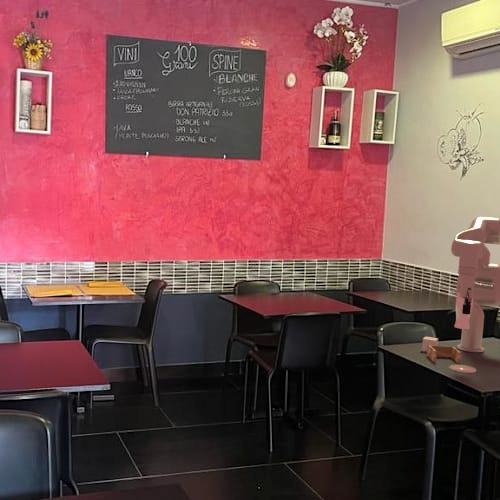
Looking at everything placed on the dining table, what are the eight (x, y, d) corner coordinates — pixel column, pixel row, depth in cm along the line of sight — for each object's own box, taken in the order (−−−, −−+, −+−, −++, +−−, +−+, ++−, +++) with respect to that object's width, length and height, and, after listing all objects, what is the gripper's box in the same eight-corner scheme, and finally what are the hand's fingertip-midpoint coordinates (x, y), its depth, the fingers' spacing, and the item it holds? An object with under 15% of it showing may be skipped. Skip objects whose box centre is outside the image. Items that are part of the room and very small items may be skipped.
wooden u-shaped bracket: (427, 355, 313) (428, 345, 312) (452, 357, 313) (453, 346, 312) (434, 362, 301) (435, 351, 300) (460, 364, 301) (461, 352, 301)
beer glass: (471, 330, 289) (474, 294, 288) (453, 328, 290) (457, 293, 289) (469, 327, 296) (473, 292, 294) (452, 325, 297) (456, 291, 296)
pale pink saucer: (446, 365, 297) (446, 363, 297) (471, 366, 297) (471, 365, 297) (453, 372, 286) (453, 370, 286) (479, 373, 286) (480, 372, 286)
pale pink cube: (434, 353, 319) (435, 340, 318) (421, 351, 321) (422, 338, 321) (437, 350, 324) (438, 338, 324) (424, 348, 327) (425, 336, 326)
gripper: (453, 268, 300) (449, 308, 301) (464, 272, 282) (460, 315, 284) (470, 269, 299) (466, 309, 301) (482, 274, 282) (478, 316, 284)
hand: (463, 312), depth 292 cm, fingers closed on beer glass, 6 cm apart
